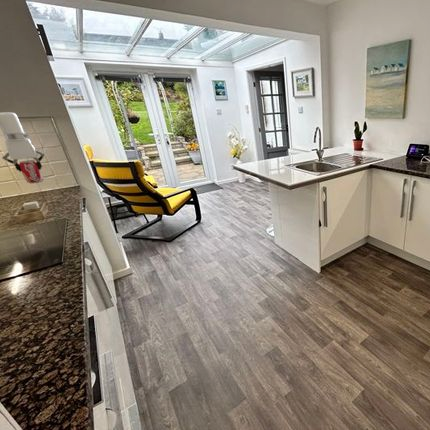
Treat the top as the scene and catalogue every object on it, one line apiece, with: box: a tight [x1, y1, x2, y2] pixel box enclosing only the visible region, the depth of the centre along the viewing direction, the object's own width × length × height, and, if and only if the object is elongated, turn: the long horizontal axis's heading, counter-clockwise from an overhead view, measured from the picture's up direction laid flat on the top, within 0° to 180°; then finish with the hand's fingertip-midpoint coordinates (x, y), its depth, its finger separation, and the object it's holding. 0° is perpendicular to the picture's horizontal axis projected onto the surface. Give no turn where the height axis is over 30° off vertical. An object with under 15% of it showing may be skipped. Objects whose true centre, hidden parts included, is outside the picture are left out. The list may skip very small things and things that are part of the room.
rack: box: [13, 202, 49, 225], centre depth 139 cm, size 10×19×5 cm, turn 41°
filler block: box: [22, 200, 40, 210], centre depth 142 cm, size 5×5×6 cm
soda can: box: [18, 159, 45, 184], centre depth 147 cm, size 7×7×12 cm
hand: (30, 169), depth 146 cm, fingers closed on soda can, 7 cm apart
